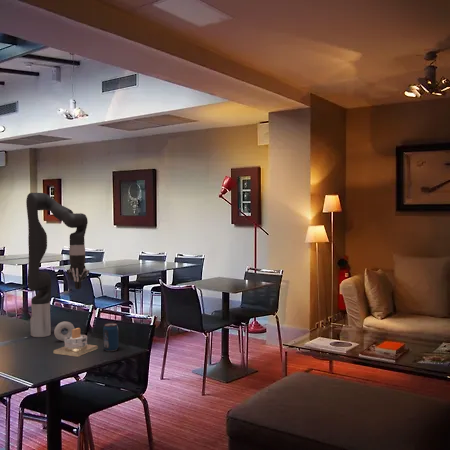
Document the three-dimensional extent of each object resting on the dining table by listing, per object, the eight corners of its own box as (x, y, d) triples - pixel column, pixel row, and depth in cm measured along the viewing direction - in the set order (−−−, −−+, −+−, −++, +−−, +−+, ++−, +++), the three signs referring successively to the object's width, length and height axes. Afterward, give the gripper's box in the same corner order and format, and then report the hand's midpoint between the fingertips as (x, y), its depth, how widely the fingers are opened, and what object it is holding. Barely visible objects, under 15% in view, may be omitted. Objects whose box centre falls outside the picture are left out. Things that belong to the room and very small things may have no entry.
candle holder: (53, 353, 235) (53, 339, 234) (74, 346, 247) (73, 332, 247) (78, 356, 229) (77, 342, 229) (97, 348, 242) (97, 335, 242)
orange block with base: (66, 341, 236) (66, 329, 236) (75, 338, 242) (75, 326, 242) (77, 342, 234) (76, 330, 234) (85, 339, 239) (85, 328, 239)
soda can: (119, 347, 243) (119, 322, 243) (117, 351, 236) (116, 325, 236) (105, 347, 243) (104, 322, 243) (102, 351, 236) (101, 326, 236)
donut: (54, 343, 254) (54, 323, 253) (54, 341, 257) (53, 321, 257) (75, 340, 258) (75, 321, 257) (74, 339, 261) (74, 319, 261)
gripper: (93, 253, 252) (93, 288, 252) (71, 253, 257) (72, 287, 258) (83, 254, 245) (83, 290, 245) (61, 254, 250) (62, 289, 251)
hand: (78, 289), depth 252 cm, fingers closed
